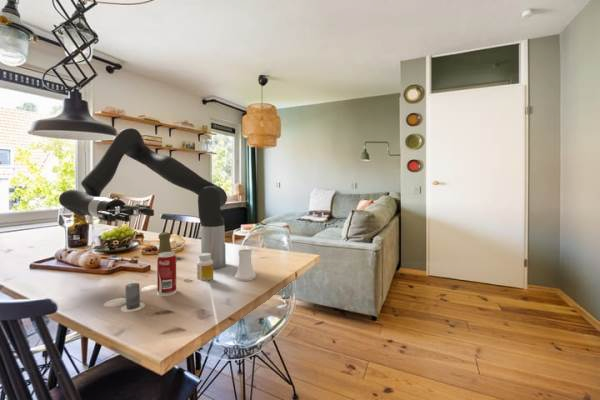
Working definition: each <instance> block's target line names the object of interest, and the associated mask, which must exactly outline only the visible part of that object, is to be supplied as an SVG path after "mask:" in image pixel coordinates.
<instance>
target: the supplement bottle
mask: <svg viewBox="0 0 600 400" xmlns="http://www.w3.org/2000/svg"><path fill="white" fill-rule="evenodd" d="M210 258H211V254H210V253H202V252H201V253H199V254H198V259H199V260H198V261H197V262H196V274H197V276H196V277H197V278H196V279H197V280H198V281H207V283H208V284H211V283H213V281H214V269H213V260H211V259H210Z"/></svg>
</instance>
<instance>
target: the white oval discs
mask: <svg viewBox="0 0 600 400" xmlns="http://www.w3.org/2000/svg"><path fill="white" fill-rule="evenodd" d="M155 291H158V284H153V285H147V286H144V287H142V288H141V289H140V292H143V293H152V292H155ZM177 292H178V289H176V291H175V292H174V293H172V294H168V295H160V294H159V293H158V292H157V293H156V295H157V296H158V297H167V296H168V297H169V296H172V295H174V294H176V293H177ZM124 304H125V305H124ZM122 305H123V306H122ZM103 306H105V307H108V308H114V307H118V306H122V307H121V308H120V311H121V312H123V313H124V312H125V313H131V312H136V311H140V310H141V309H143V308H144V307H145V306H146V304H145V302H141V301H140V307H138V308H136V309H131V310H128V309H126V297H122V298H121V297H118V298H114V299H110V300H107V301H105V302H104V303H103Z"/></svg>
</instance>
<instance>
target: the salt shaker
mask: <svg viewBox="0 0 600 400" xmlns="http://www.w3.org/2000/svg"><path fill="white" fill-rule="evenodd" d="M252 251H253V250H252V249H250V248H249V249H247V248H246V249H245V248H244V249H239V250H238V267H237V270H236V273H235V274H234V279H235V280H237V281H240V282H241V281H242V282H245V281H252V280H255V279H256V273H255V270H254V268H253V262H252V253H253V252H252Z"/></svg>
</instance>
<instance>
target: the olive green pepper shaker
mask: <svg viewBox="0 0 600 400" xmlns="http://www.w3.org/2000/svg"><path fill="white" fill-rule="evenodd" d="M171 238H172V234H171V233H170V232H161V233H159V234H158V239H159V245H158V254H159V253H162V252H173V251H172V247H171ZM158 254H157V257H158V256H159V255H158Z"/></svg>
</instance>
